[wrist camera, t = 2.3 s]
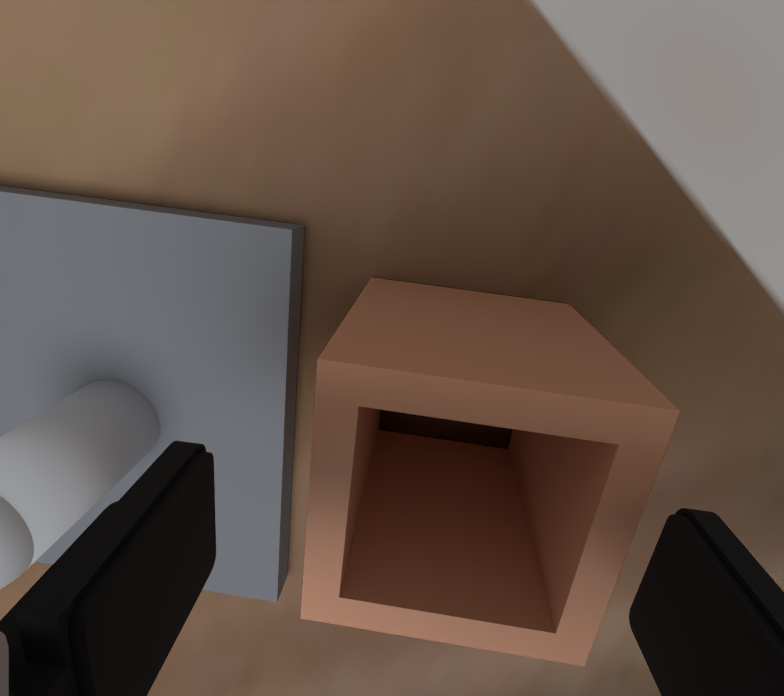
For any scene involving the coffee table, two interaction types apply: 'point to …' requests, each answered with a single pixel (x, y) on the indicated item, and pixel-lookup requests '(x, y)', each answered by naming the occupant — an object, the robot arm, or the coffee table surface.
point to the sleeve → (476, 471)
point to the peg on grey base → (146, 371)
